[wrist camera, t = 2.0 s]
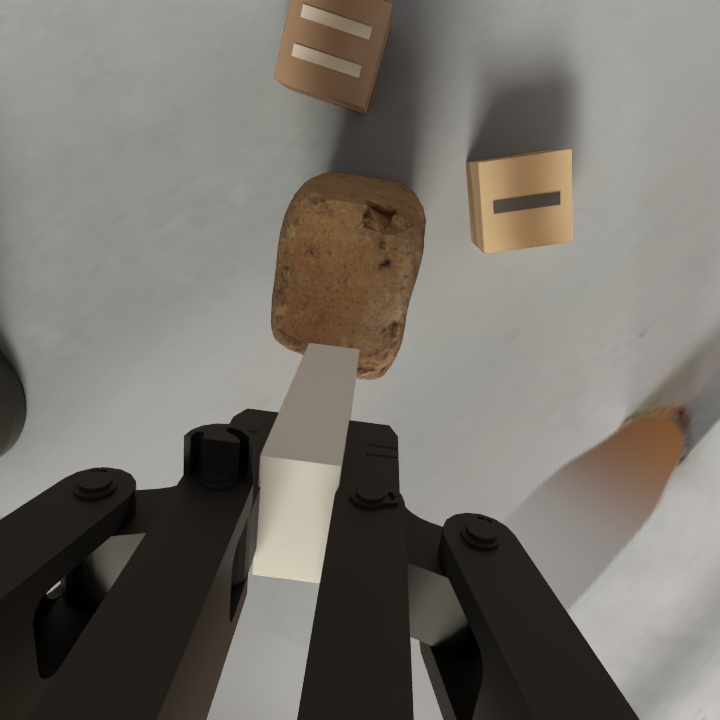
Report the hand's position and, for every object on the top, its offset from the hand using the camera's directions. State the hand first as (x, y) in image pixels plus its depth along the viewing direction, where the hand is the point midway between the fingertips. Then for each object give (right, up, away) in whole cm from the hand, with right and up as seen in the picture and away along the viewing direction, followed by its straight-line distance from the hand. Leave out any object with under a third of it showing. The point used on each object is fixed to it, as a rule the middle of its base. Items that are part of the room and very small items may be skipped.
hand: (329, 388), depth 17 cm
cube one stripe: (+12, +13, +26) cm, 32 cm away
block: (+1, +10, +28) cm, 30 cm away
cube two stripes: (-1, +23, +23) cm, 32 cm away
